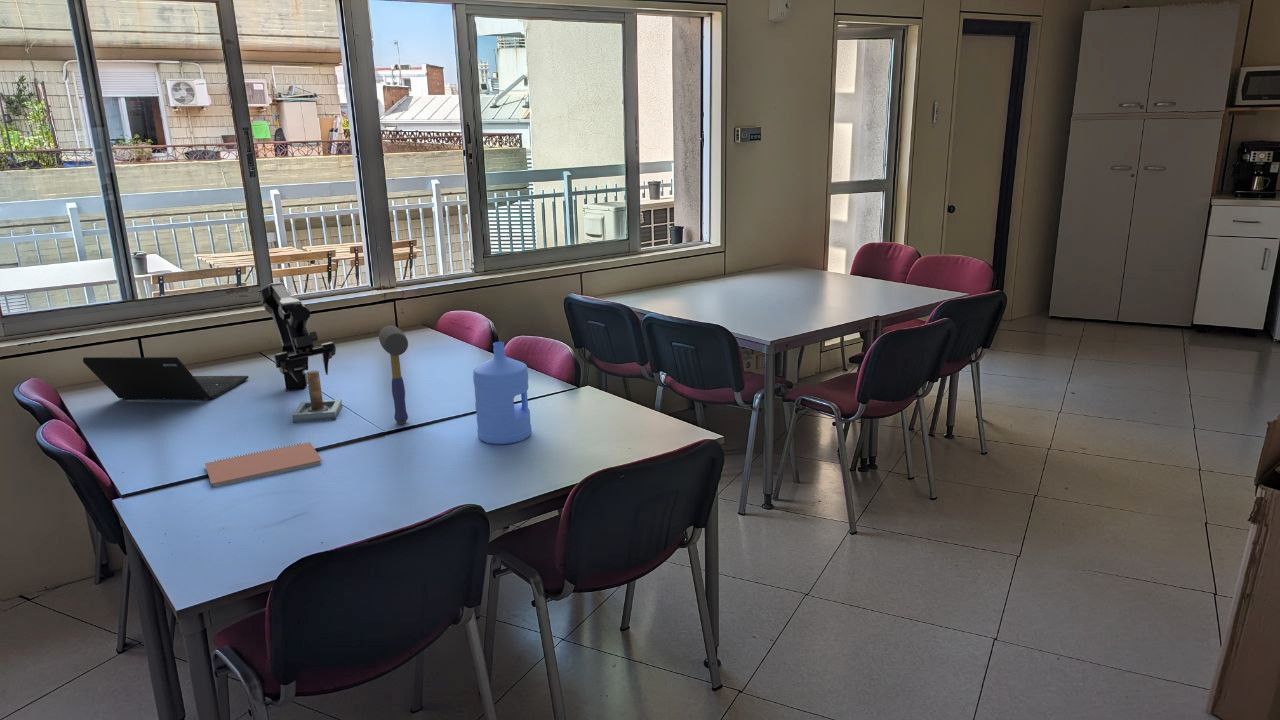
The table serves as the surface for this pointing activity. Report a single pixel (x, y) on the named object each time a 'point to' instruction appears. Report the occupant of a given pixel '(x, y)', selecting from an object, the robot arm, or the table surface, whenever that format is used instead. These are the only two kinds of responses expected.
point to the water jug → (501, 399)
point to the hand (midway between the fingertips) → (312, 377)
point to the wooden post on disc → (315, 392)
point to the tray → (305, 416)
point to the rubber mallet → (396, 367)
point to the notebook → (262, 464)
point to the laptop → (157, 378)
